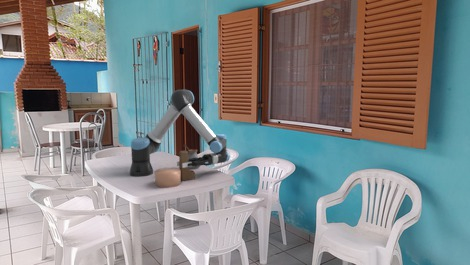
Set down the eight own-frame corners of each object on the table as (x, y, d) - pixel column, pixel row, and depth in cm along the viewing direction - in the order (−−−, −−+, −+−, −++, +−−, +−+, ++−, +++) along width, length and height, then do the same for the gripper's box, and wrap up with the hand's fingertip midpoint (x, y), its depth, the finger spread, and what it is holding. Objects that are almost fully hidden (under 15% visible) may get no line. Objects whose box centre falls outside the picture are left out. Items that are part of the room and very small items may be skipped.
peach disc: (150, 183, 204) (150, 170, 203) (172, 178, 214) (171, 166, 213) (163, 189, 193) (163, 175, 192) (185, 184, 203) (185, 171, 202)
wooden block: (192, 176, 218) (192, 149, 215) (195, 178, 214) (195, 151, 211) (179, 178, 214) (179, 150, 210) (181, 180, 210) (181, 152, 207)
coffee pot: (203, 168, 241) (203, 147, 239) (188, 170, 235) (188, 149, 233) (192, 162, 259) (191, 143, 257) (177, 164, 254) (177, 144, 252)
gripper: (218, 167, 218) (188, 173, 203) (201, 162, 232) (172, 168, 216) (218, 155, 217) (188, 161, 202) (201, 151, 231) (171, 156, 215)
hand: (179, 164), depth 209 cm, fingers closed on wooden block, 5 cm apart
